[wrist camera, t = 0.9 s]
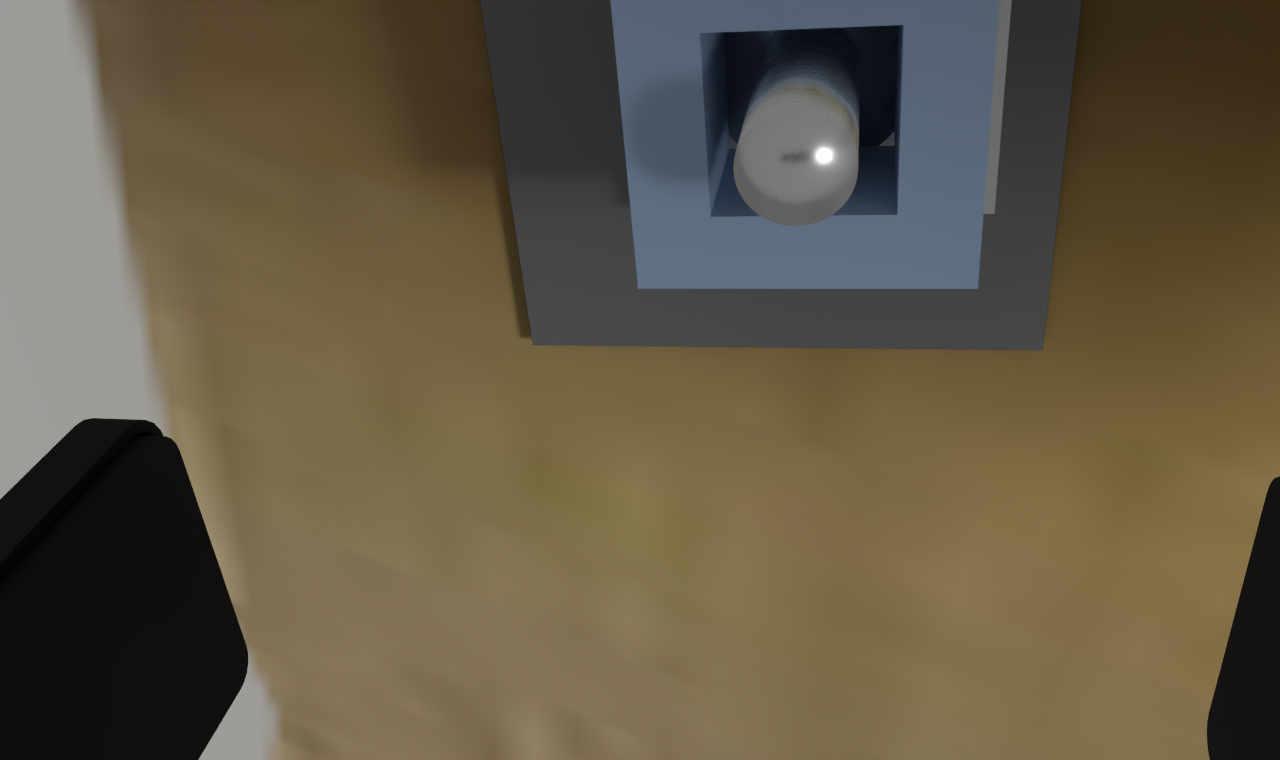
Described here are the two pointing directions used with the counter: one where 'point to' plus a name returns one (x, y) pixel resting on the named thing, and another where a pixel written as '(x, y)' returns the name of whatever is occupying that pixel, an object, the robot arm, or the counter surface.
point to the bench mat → (793, 318)
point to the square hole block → (887, 175)
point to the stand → (822, 114)
